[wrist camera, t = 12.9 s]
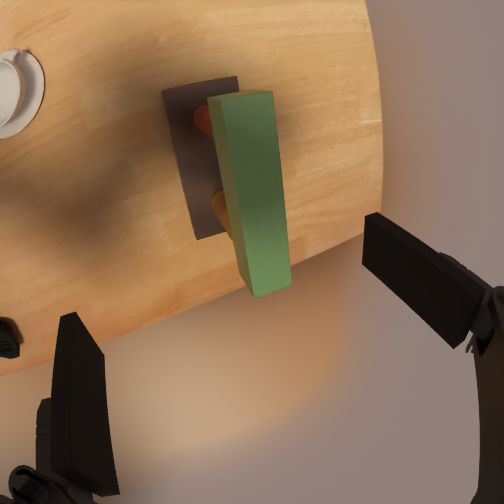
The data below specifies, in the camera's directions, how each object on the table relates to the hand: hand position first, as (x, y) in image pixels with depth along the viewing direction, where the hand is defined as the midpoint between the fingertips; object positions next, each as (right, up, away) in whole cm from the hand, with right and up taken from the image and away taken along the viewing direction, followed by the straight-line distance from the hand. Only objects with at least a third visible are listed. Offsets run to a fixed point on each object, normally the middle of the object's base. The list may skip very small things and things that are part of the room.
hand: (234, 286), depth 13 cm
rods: (-4, +12, +22) cm, 25 cm away
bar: (0, +7, +13) cm, 14 cm away
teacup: (-25, +18, +9) cm, 33 cm away
